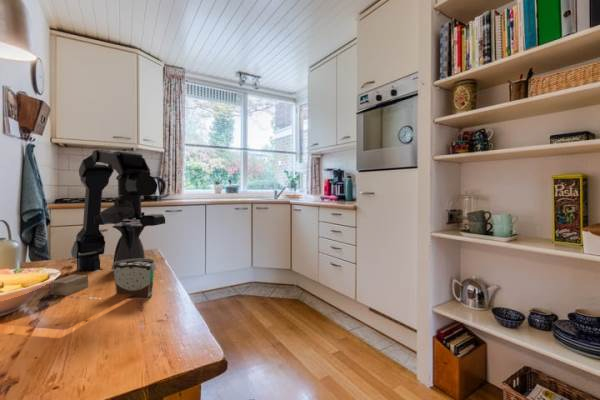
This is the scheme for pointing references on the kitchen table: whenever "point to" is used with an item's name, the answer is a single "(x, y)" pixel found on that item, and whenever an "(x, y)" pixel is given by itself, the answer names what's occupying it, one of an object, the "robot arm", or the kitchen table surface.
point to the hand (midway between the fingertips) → (130, 248)
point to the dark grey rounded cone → (128, 250)
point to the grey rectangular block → (68, 284)
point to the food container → (134, 277)
